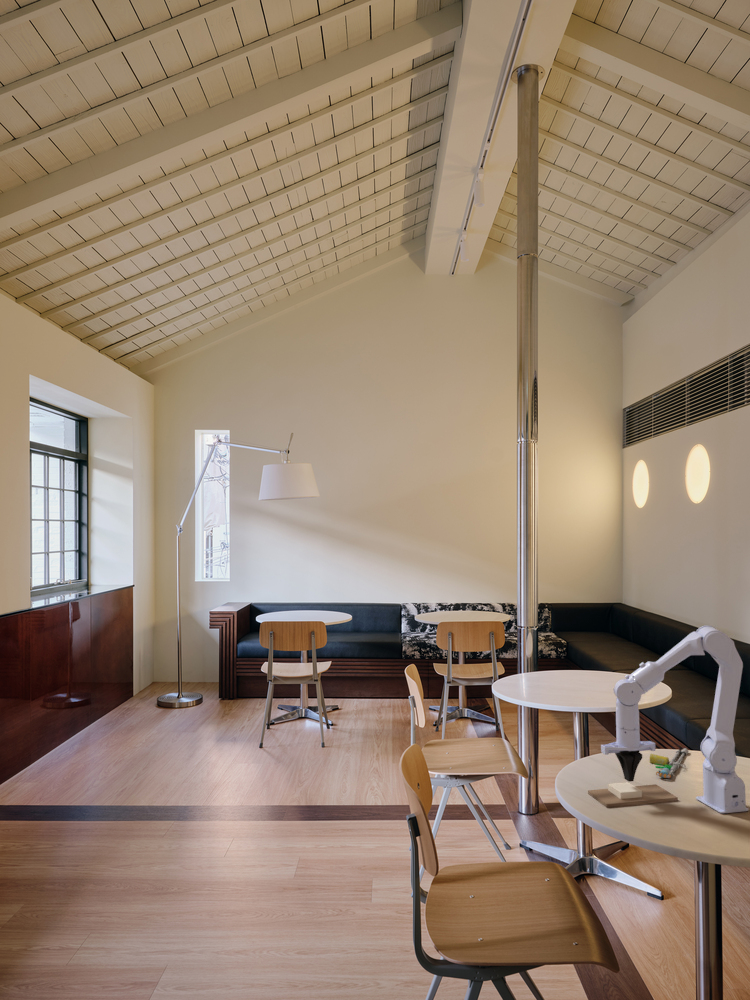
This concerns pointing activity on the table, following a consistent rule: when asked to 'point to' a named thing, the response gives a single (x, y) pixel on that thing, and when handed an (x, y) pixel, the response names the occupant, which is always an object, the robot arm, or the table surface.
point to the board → (648, 796)
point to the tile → (624, 790)
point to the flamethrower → (667, 763)
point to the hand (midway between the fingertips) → (629, 780)
